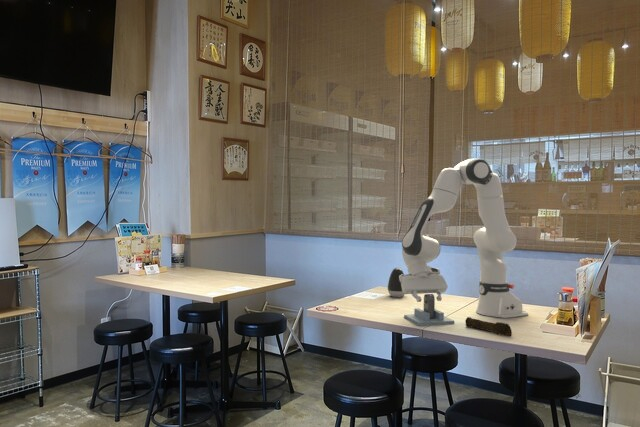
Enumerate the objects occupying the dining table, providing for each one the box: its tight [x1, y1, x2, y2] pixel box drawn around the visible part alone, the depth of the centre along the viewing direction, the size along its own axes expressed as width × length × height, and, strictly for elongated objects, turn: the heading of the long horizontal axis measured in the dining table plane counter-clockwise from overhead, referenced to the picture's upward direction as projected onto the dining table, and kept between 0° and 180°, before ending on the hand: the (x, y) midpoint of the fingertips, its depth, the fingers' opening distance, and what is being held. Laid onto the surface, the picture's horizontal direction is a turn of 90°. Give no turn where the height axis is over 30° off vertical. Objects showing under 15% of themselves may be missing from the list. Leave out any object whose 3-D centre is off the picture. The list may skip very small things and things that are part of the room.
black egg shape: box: [386, 267, 406, 298], centre depth 253 cm, size 10×10×15 cm
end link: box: [423, 293, 436, 319], centre depth 201 cm, size 3×4×10 cm
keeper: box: [404, 307, 455, 327], centre depth 201 cm, size 16×14×4 cm
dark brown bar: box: [464, 316, 513, 337], centre depth 186 cm, size 19×4×5 cm, turn 37°
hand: (429, 300), depth 201 cm, fingers open, 8 cm apart
